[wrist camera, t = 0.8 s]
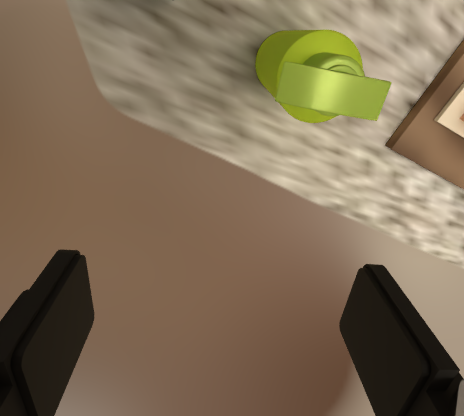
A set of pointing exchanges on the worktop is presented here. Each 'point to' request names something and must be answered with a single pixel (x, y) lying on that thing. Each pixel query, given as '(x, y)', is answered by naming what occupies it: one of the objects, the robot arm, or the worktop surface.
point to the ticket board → (434, 126)
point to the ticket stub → (453, 113)
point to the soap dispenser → (318, 76)
